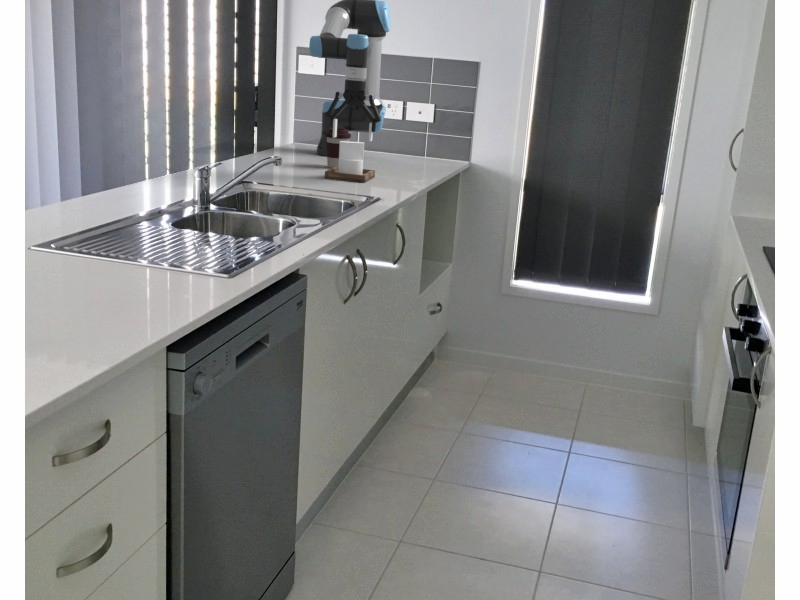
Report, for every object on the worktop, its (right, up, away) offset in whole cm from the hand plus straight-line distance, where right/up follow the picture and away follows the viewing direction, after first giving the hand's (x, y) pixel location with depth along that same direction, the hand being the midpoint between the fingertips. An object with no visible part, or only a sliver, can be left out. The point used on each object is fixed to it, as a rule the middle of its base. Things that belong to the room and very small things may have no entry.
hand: (352, 139), depth 311 cm
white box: (-1, -13, +4) cm, 13 cm away
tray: (-1, -13, +4) cm, 14 cm away
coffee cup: (-8, -7, +24) cm, 26 cm away
